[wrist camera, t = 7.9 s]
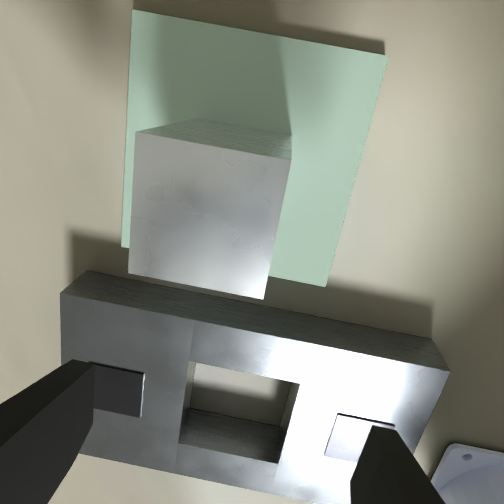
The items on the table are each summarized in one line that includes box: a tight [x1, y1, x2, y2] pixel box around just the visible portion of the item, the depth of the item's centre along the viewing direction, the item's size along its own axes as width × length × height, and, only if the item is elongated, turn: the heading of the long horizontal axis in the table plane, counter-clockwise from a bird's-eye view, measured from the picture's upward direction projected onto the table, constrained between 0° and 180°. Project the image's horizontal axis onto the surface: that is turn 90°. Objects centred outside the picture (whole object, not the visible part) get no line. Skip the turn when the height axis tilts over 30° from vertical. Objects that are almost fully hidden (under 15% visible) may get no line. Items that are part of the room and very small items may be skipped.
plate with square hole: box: [60, 271, 450, 504], centre depth 21 cm, size 18×10×3 cm, turn 80°
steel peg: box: [128, 118, 292, 299], centre depth 14 cm, size 4×4×7 cm
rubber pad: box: [121, 9, 389, 287], centre depth 17 cm, size 10×10×1 cm
